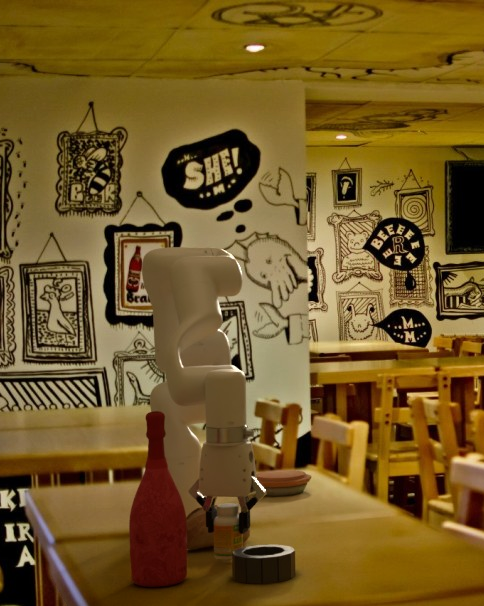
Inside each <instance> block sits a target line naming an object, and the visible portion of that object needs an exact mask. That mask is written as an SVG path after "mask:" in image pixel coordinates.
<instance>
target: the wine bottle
mask: <svg viewBox="0 0 484 606" xmlns="http://www.w3.org/2000/svg"><path fill="white" fill-rule="evenodd" d="M164 422H165V415H164V413H163V412H160V411H153V412H151V411H149V412H147V413H146V414H145V423H146V432H145V436H146V438H147V440H148V441H147V442H148V444H147V457H146V461H145V466H144V472H143V474H142V477H141V480H140V482H139V484H138V487H137V489H136V492H135V494H134V497H133V500H132V503H131V508H130V511H129V512H130V513H129V522H128V524H129V525H128V529H129V530H128V531H129V533H128V535H129V537H128V538H129V560H130V573H131V580H132V582H133V583H134V584H135V585H137V586H140V587H144V588H161V587H163V588H164V587H168V586H175V585H177V584H180V583H182V582H183V581H185V579H186V578H187V575H188V549H187V522H186V513H185V508H184V505H183V502H182V499H181V496H180V494H179V491H178V489H177V487H176V485H175V483H174V481H173V479H172V476H171V474H170V472H169V470H168V464H167V460H166V458H165V452H164V437H165V435H166V432H165V429H164Z"/></svg>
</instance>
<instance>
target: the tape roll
mask: <svg viewBox="0 0 484 606" xmlns="http://www.w3.org/2000/svg"><path fill="white" fill-rule="evenodd" d="M231 567H232V568H231V571H232V572H231V573H232V574H231V575H232V577H231V578H232V579H233V580H234V581H235V582H238V583H243V584H248V585H249V584H250V585H252V584H253V585H255V584H256V585H262V584H265V585H266V584H275V583H280V582H281V583H282V582H285V581H288V580H291V579H292V578H294V577H295V576H296V550H295V549H294V548H293V547H292V546H289V545H283V544H257V545H255V544H254V545H248V546H243V548H239V549H236V550H235V551H233V552H232V559H231Z"/></svg>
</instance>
